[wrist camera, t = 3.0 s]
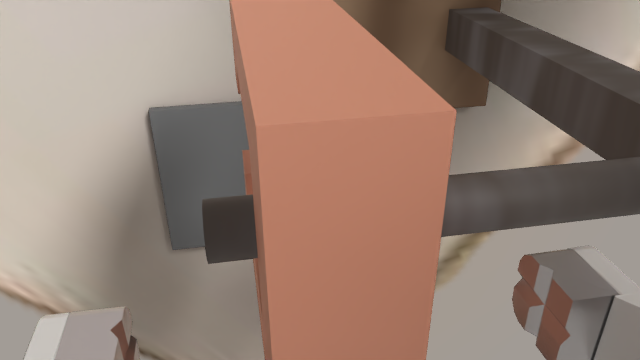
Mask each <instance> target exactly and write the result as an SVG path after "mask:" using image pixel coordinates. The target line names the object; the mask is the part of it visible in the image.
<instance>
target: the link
mask: <svg viewBox="0 0 640 360" xmlns="http://www.w3.org/2000/svg"><path fill="white" fill-rule="evenodd" d="M229 2H230V14H231V25H232V37H233V49H234V61H235V72H236V80H237V87H238V94H241V99H242V106H243V112H244V118H245V125H246V131H247V138H248V144H249V150H242V154H243V166H244V178H245V189H246V195H251V194H253V202H254V215H255V228H256V241H257V253H258V258H254V259H253V263H254V272H255V280H256V288H257V297H258V305H259V313H260V322H261V330H262V338H263V346H264V355H265V360H426V354H427V346H428V338H429V330H430V322H431V314H432V306H433V298H434V290H435V281H436V273H437V265H438V257H439V249H440V241H441V233H442V225H443V217H444V209H445V201H446V193H447V185H448V177H449V169H450V161H451V152H452V144H453V136H454V128H455V120H456V112H457V111H456V110H455V109H454V108H453V107H452V106H451V105H450V104H449V103H447V102H446V101H445V100H444V99H443V98H442V97H441V96H440V95H438V94H437V93H436V92H435V91H434V90H433V89H432V88H431V87H429V86H428V85H427V84H426V83H425V82H424V81H423V80H422V79H421V78H419V77H418V76H417V75H416V74H415V73H414V72H413V71H412V70H410V69H409V68H408V67H407V66H406V65H405V64H404V63H403V62H402V61H400V60H399V59H398V58H397V57H396V56H395V55H394V54H393V53H391V52H390V51H389V50H388V49H387V48H386V47H385V46H384V45H383V44H381V43H380V42H379V41H378V40H377V39H376V38H375V37H374V36H372V35H371V34H370V33H369V32H368V31H367V30H366V29H365V28H363V27H362V26H361V25H360V24H359V23H358V22H357V21H356V20H355V19H353V18H352V17H351V16H350V15H349V14H348V13H347V12H346V11H344V10H343V9H342V8H341V7H340V6H339V5H338V4H337V3H336V2H334V1H333V0H229Z"/></svg>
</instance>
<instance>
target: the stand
mask: <svg viewBox="0 0 640 360" xmlns="http://www.w3.org/2000/svg"><path fill="white" fill-rule="evenodd" d="M333 1H334V2H336V3H337V4H338V5H339V6H340V7H341V8H342V9H343V10H344V11H346V12H347V13H348V14H349V15H350V16H351V17H352V18H353V19H355V20H356V21H357V22H358V23H359V24H360V25H361V26H362V27H363V28H365V29H366V30H367V31H368V32H369V33H370V34H371V35H372V36H374V37H375V38H376V39H377V40H378V41H379V42H380V43H381V44H383V45H384V46H385V47H386V48H387V49H388V50H389V51H390V52H391V53H393V54H394V55H395V56H396V57H397V58H398V59H399V60H400V61H402V62H403V63H404V64H405V65H406V66H407V67H408V68H409V69H410V70H412V71H413V72H414V73H415V74H416V75H417V76H418V77H419V78H421V79H422V80H423V81H424V82H425V83H426V84H427V85H428V86H429V87H431V88H432V89H433V90H434V91H435V92H436V93H437V94H438V95H440V96H441V97H442V98H443V99H444V100H445V101H446V102H447V103H449V104H450V105H451V106H452V107H453V108H462V107H475V106H485V105H486V99H487V92H488V86H489V80H490V81H491V82H492V83H494V84H495V85H497V86H498V87H500V88H501V89H503V90H504V91H506V92H507V93H509V94H510V95H512V96H513V97H514V98H516V99H517V100H519V101H520V102H522V103H523V104H525V105H526V106H528V107H529V108H531V109H532V110H534V111H535V112H536V113H538V114H539V115H541V116H542V117H544V118H545V119H547V120H548V121H550V122H551V123H553V124H554V125H556V126H557V127H558V128H560V129H561V130H563V131H564V132H566V133H567V134H569V135H570V136H572V137H573V138H575V139H576V140H578V141H579V142H580V143H582V144H583V145H585V146H586V147H588V148H589V149H591V150H592V151H594V152H595V153H597V154H598V155H600V156H601V157H603V158H604V159H606V160H602V161H593V162H581V163H571V164H561V165H550V166H540V167H530V168H519V169H509V170H499V171H488V172H478V173H468V174H457V175H449V177H448V185H447V193H446V201H445V209H444V217H443V225H442V233H441V237H445V236H453V235H462V234H471V233H479V232H488V231H497V230H505V229H513V228H522V227H531V226H539V225H548V224H557V223H565V222H574V221H583V220H592V219H600V218H609V217H617V216H626V215H635V214H640V72H639V71H637V70H634V69H632V68H630V67H627V66H625V65H622V64H620V63H618V62H615V61H613V60H611V59H608V58H606V57H604V56H601V55H599V54H597V53H594V52H592V51H589V50H587V49H585V48H582V47H580V46H578V45H575V44H573V43H571V42H568V41H566V40H564V39H561V38H559V37H556V36H554V35H552V34H549V33H547V32H545V31H542V30H540V29H538V28H535V27H533V26H531V25H528V24H526V23H523V22H521V21H519V20H516V19H514V18H512V17H509V16H507V15H505V14H502V13H500V6H501V0H333ZM202 217H203V231H204V241H205V249H206V256H207V261H208V264H211V263H220V262H228V261H237V260H246V259H254V258H258V253H257V241H256V228H255V215H254V202H253V194H251V195H241V196H230V197H220V198H210V199H202Z"/></svg>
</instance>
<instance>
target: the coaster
mask: <svg viewBox="0 0 640 360" xmlns="http://www.w3.org/2000/svg"><path fill="white" fill-rule="evenodd" d="M149 116H150V121H151V127H152V133H153V139H154V145H155V150H156V156H157V162H158V168H159V174H160V179H161V185H162V191H163V197H164V203H165V209H166V214H167V220H168V226H169V232H170V238H171V243H172V249H173V250H178V249H187V248H196V247H205V241H204V231H203V217H202V199H210V198H220V197H230V196H241V195H246V189H245V178H244V166H243V154H242V150H249V144H248V138H247V131H246V125H245V118H244V112H243V106H242V101H241V102H227V103H213V104H198V105H184V106H170V107H155V108H150V109H149Z"/></svg>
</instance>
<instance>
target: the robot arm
mask: <svg viewBox="0 0 640 360" xmlns="http://www.w3.org/2000/svg"><path fill="white" fill-rule="evenodd" d="M518 271H519V273H520V275H521V276H522V279H521V280H520V281H519V282H518V283H517V284H516V286H515V287H514V292H513V298H512V301H513V307H514V312H515V315H516V317H517V319H518V321H519V323H520V324H521V326H522V327H523V329H524V330H526V331H527V332H530V333H531V334H533V335H535V336H537V339H536V346H537V348H538V349H539V350H540V352H541V353H542V354H543V356H544V357H545V358H546V360H640V287H639V286H637V285H636V284H635V283H634V282H633V281H632V280H631V279H630V278H629V277H627V276H626V275H625V274H624V273H623V272H622V271H621V270H620V269H619V268H617V267H616V266H615V265H614V264H613V263H612V262H611V261H610V260H609V259H608V258H606V257H605V256H604V255H603V254H602V253H601V252H600V251H598V249H596V248H594V247H592V246H589V245H588V246H581V247H575V248H568V249H566V250H557V251H550V252H543V253H536V254H528V255H524V256H523V257H522V259H521V260H520V263H519V268H518ZM132 323H133V321H132V318H131V314H130V310H129V308H128V307H127V306H122V307H113V308H103V309H94V310H85V311H75V312H72V313H61V314H52V315H44V316H43V317H42V318H41V319H39V321H38V323H37V325H36V328H35V330H34V333H33V335H32V338H31V340H30V343H29V345H28V348H27V350H26V353H25V355H24V358H23V360H140V354H139V347H138V343H137V339H136V338H134V337H133V336H131V329H132Z"/></svg>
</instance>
